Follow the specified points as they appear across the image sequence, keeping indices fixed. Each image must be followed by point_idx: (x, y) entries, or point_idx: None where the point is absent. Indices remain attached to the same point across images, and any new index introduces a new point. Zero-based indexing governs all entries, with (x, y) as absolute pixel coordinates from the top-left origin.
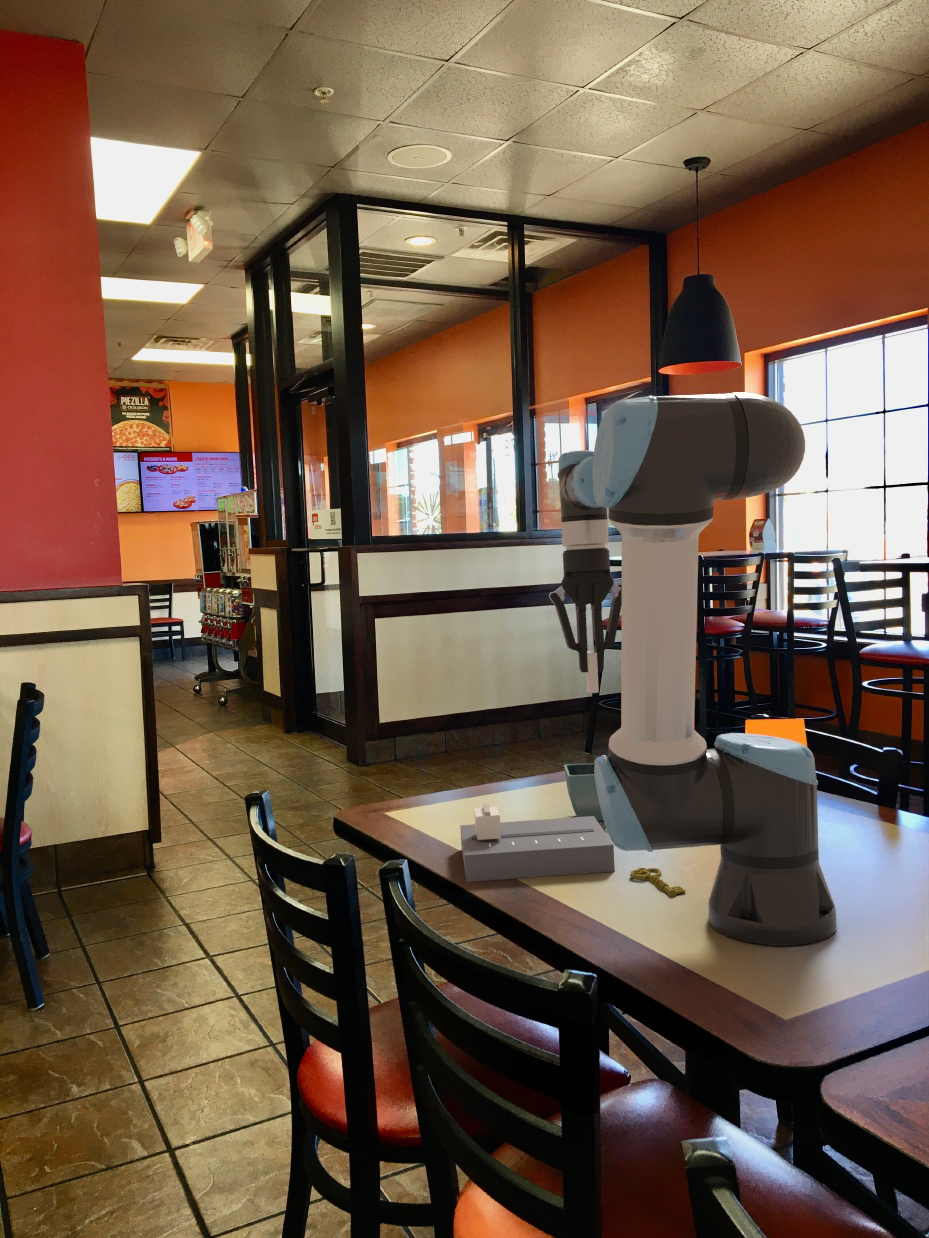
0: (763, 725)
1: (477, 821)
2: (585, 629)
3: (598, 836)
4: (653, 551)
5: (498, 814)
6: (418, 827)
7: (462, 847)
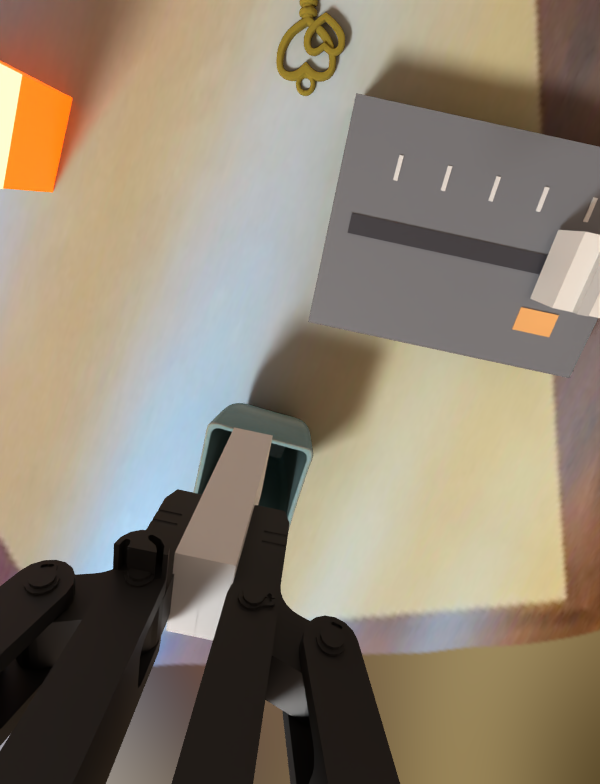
0: None
1: None
2: (189, 765)
3: (359, 171)
4: None
5: (584, 239)
6: (553, 507)
7: None
